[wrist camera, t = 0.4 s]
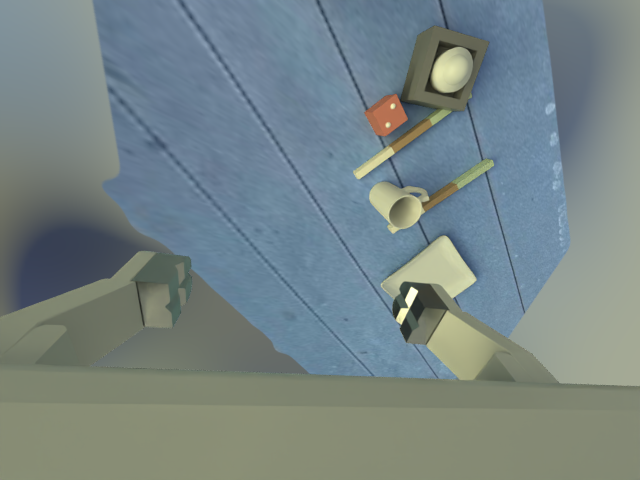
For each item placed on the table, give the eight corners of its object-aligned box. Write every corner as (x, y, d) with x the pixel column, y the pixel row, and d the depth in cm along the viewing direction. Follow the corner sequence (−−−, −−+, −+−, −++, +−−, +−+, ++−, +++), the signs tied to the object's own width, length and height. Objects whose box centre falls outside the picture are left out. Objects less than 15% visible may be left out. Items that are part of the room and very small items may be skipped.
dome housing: (417, 35, 45) (434, 25, 40) (467, 49, 47) (489, 41, 42) (400, 101, 49) (413, 99, 45) (446, 111, 52) (463, 111, 47)
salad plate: (471, 274, 74) (479, 281, 71) (412, 316, 78) (418, 324, 75) (438, 228, 65) (446, 233, 62) (374, 278, 69) (379, 285, 66)
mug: (373, 213, 60) (393, 234, 49) (363, 188, 56) (383, 205, 46) (411, 194, 59) (441, 212, 48) (404, 168, 56) (434, 181, 45)
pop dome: (437, 46, 42) (453, 39, 39) (469, 55, 44) (488, 49, 40) (424, 89, 45) (438, 86, 41) (455, 96, 46) (471, 94, 43)
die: (376, 134, 52) (386, 136, 47) (364, 112, 49) (373, 112, 45) (396, 119, 51) (409, 119, 46) (385, 95, 49) (397, 93, 44)
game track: (389, 230, 62) (392, 233, 61) (352, 171, 54) (355, 173, 53) (487, 163, 58) (494, 165, 56) (463, 90, 50) (470, 89, 49)
